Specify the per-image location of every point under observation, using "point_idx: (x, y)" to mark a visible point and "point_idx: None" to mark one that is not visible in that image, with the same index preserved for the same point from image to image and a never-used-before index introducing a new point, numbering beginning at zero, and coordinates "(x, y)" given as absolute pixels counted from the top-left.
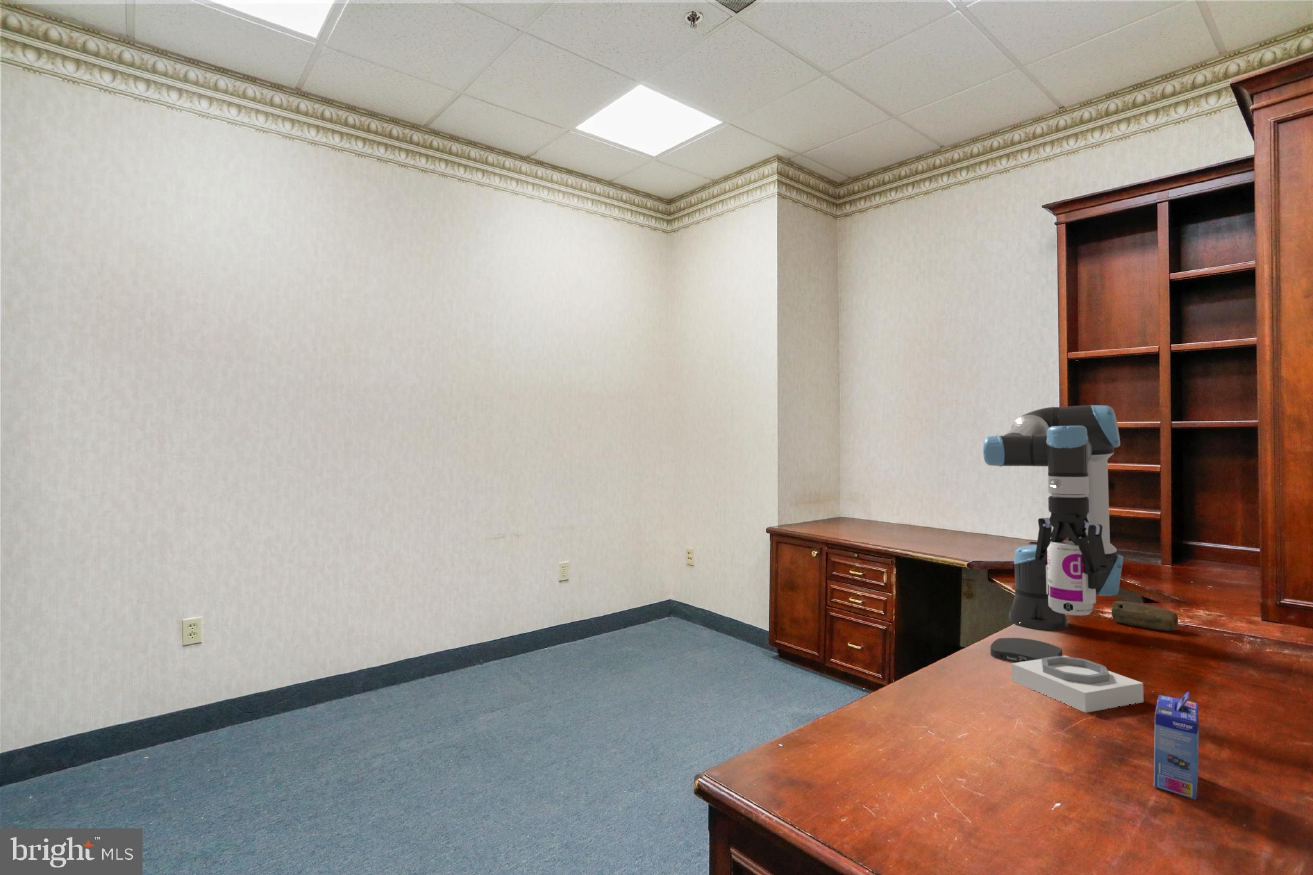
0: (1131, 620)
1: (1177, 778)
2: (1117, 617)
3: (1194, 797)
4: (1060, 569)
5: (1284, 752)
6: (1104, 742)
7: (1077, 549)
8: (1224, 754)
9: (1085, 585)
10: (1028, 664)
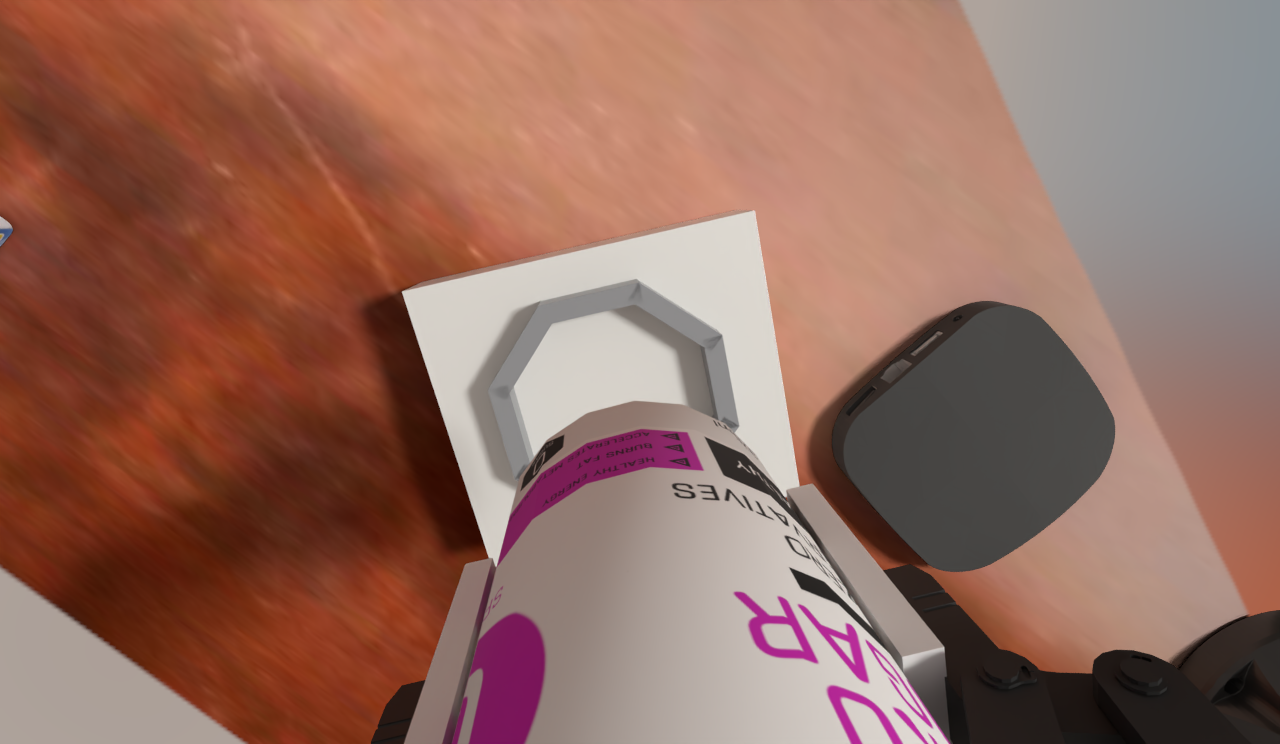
0: None
1: None
2: None
3: None
4: (565, 614)
5: (150, 637)
6: (175, 171)
7: None
8: (119, 478)
9: (434, 670)
10: (730, 277)
